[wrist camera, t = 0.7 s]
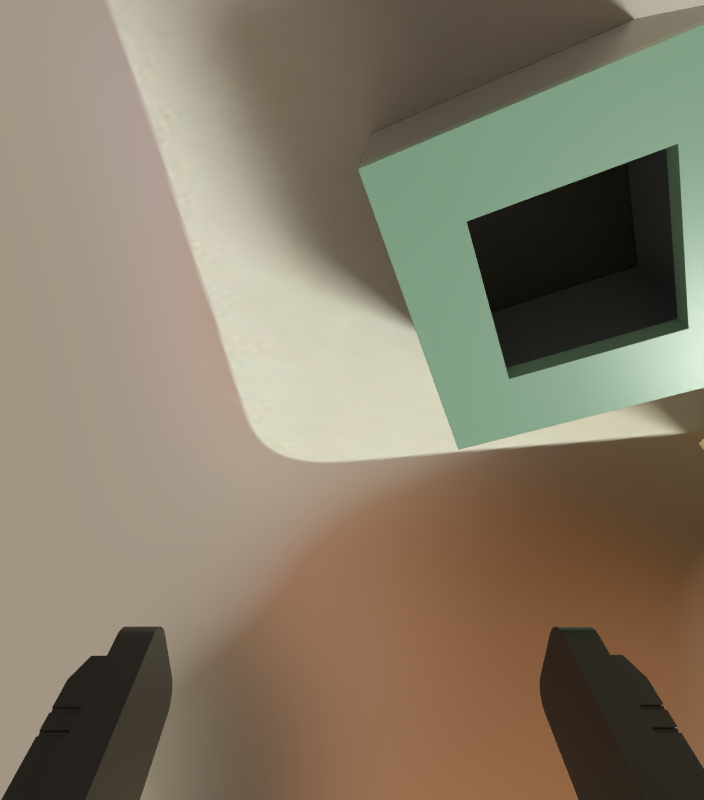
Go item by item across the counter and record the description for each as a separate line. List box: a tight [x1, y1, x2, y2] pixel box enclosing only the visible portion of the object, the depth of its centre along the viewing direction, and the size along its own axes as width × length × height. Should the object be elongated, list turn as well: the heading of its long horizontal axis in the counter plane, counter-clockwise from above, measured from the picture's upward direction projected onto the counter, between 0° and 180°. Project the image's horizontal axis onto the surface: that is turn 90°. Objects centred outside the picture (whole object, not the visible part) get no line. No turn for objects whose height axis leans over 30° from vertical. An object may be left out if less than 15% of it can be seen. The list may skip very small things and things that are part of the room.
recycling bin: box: [358, 6, 704, 450], centre depth 26 cm, size 14×14×12 cm
